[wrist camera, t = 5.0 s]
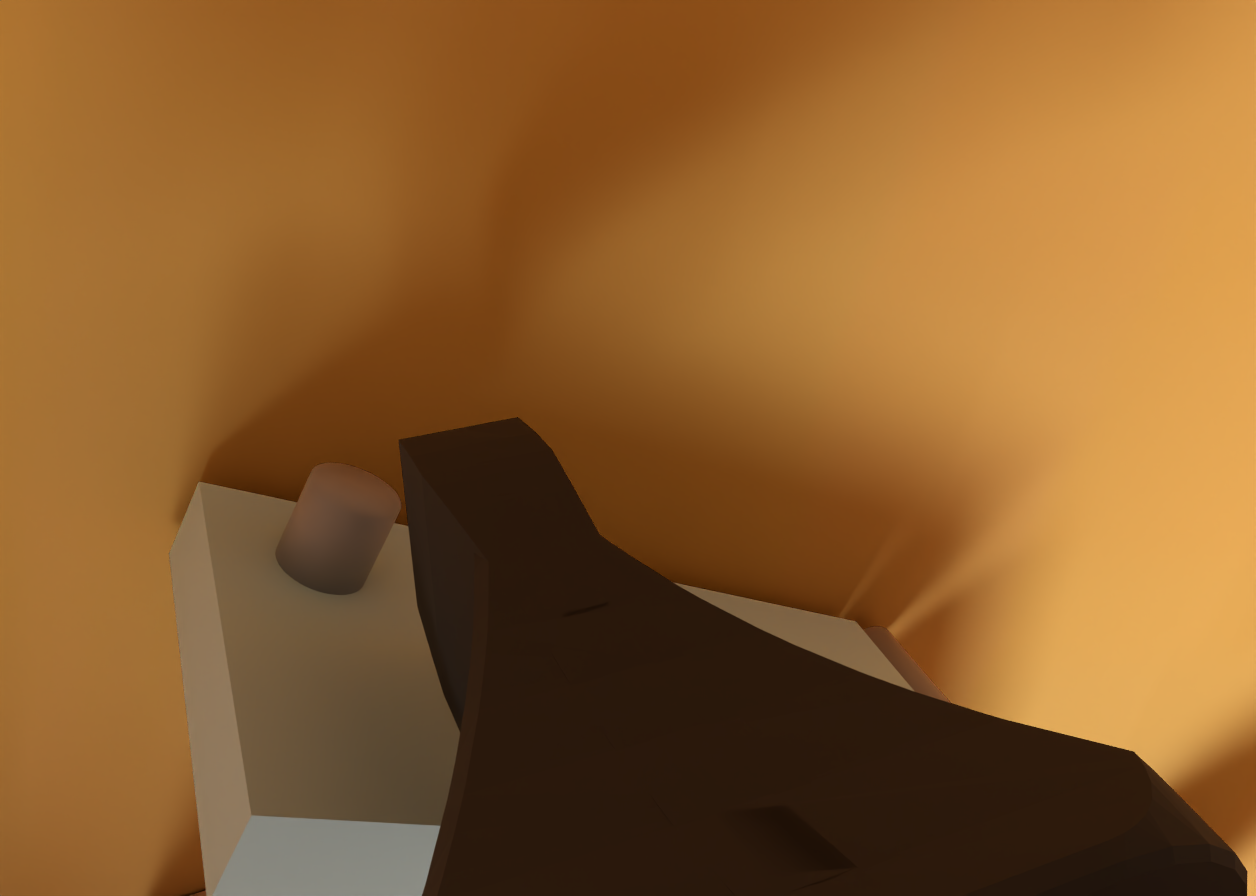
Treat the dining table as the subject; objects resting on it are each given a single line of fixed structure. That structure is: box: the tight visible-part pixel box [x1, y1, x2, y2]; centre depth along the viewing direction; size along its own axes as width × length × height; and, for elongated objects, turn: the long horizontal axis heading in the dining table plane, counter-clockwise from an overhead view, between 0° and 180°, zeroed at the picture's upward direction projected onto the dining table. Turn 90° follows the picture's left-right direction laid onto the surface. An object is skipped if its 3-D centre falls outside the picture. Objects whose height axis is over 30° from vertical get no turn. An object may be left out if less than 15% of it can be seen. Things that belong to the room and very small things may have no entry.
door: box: [169, 463, 951, 896], centre depth 14 cm, size 12×2×5 cm, turn 60°
